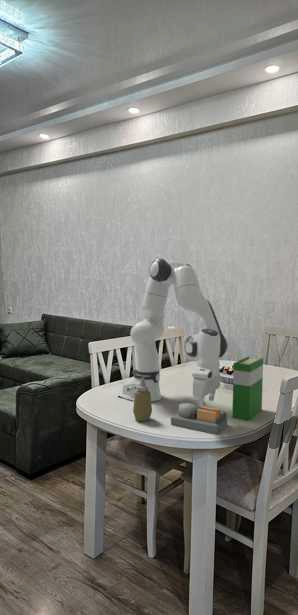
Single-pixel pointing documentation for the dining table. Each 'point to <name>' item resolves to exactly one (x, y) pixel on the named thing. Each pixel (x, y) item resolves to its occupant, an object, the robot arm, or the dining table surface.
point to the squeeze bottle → (142, 402)
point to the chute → (208, 414)
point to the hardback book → (247, 388)
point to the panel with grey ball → (189, 420)
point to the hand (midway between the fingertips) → (206, 403)
